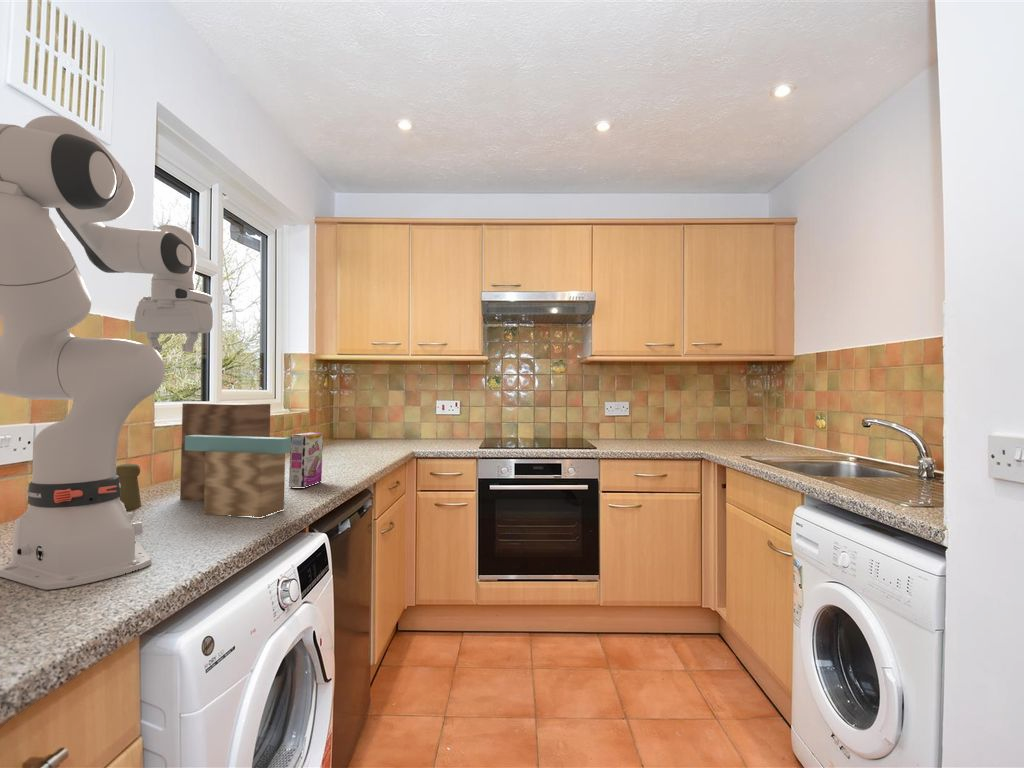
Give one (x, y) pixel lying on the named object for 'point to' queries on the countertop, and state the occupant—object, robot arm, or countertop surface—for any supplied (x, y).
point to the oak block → (243, 483)
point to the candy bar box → (305, 459)
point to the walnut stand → (216, 422)
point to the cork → (129, 485)
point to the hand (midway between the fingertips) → (171, 351)
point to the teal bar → (238, 444)
